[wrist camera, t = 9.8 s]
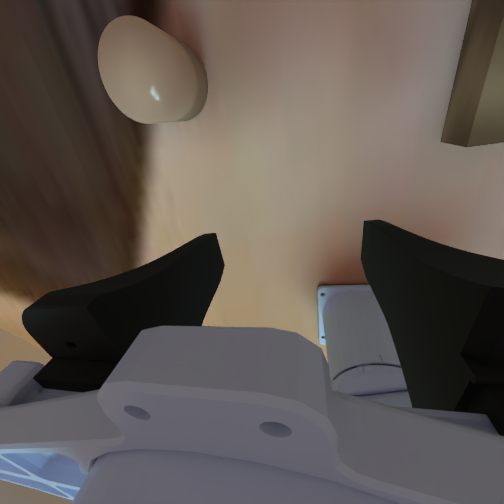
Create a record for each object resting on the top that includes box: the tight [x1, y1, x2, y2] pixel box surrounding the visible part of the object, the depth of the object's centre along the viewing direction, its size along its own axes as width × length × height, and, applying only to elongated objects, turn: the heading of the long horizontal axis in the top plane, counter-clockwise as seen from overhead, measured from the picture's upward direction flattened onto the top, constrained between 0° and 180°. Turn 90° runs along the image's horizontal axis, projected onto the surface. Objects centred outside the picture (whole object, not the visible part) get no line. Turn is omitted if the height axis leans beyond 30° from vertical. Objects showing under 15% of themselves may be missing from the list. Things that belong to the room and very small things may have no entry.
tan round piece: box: [98, 15, 208, 124], centre depth 15 cm, size 5×5×5 cm
